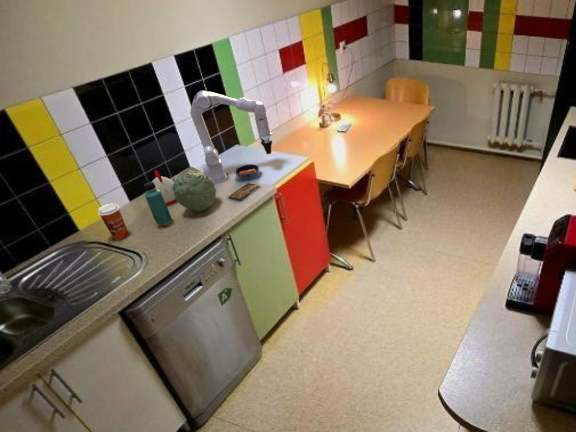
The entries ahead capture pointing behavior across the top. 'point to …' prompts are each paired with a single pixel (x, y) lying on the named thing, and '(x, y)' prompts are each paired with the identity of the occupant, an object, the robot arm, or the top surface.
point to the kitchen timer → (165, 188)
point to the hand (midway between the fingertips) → (268, 151)
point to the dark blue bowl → (247, 176)
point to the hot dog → (247, 171)
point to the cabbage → (194, 189)
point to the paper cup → (113, 220)
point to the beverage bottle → (157, 204)
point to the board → (243, 192)
